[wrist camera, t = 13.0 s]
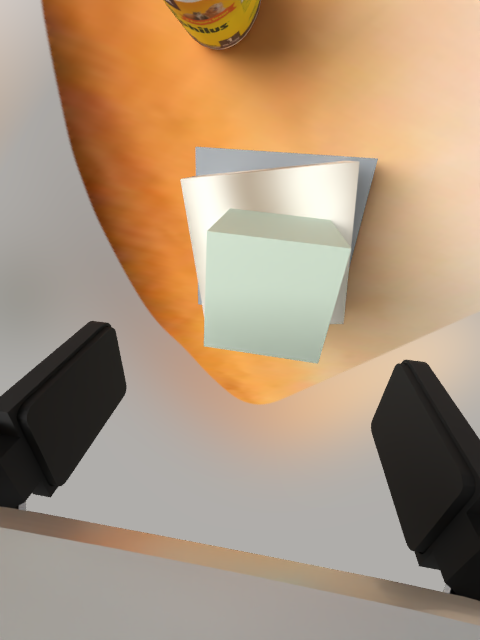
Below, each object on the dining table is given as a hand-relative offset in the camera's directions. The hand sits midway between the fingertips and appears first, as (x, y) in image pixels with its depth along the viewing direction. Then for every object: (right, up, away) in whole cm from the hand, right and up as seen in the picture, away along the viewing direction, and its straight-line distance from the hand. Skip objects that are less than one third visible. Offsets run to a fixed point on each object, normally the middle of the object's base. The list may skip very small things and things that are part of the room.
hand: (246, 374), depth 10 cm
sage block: (+2, +6, +9) cm, 11 cm away
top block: (+2, +8, +12) cm, 15 cm away
